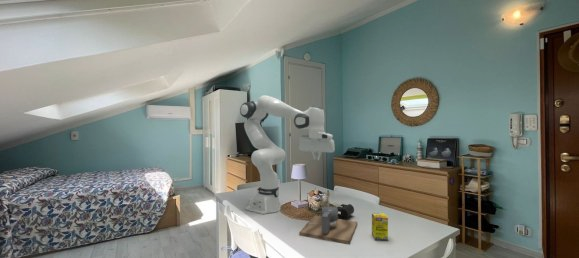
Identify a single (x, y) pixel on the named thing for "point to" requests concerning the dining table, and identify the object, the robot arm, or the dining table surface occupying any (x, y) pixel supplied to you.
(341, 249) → the dining table surface
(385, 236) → the supplement box
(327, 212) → the coupling
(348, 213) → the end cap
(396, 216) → the dining table surface
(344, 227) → the mount plate
